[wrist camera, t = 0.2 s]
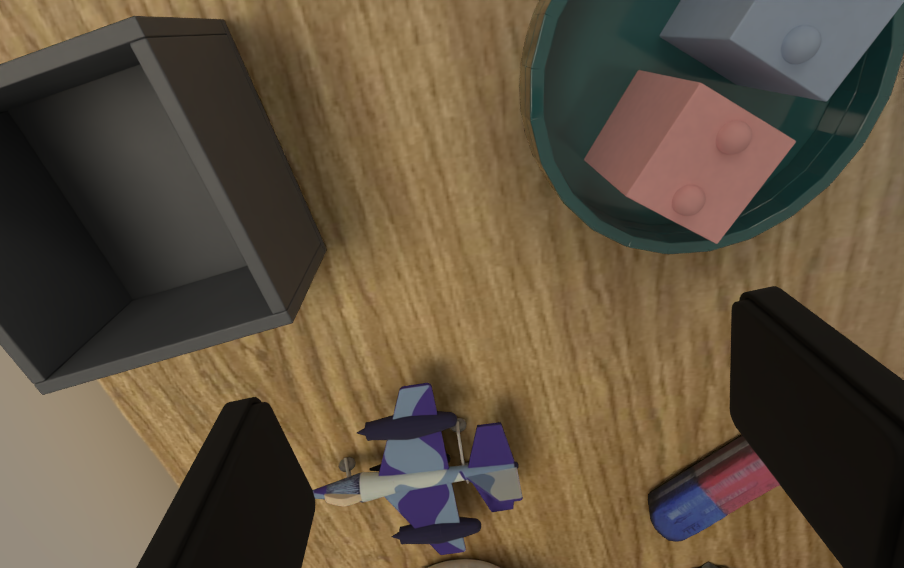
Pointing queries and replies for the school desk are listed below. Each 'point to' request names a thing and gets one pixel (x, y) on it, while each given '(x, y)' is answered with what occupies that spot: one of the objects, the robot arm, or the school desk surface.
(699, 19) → the block
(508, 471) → the toy airplane
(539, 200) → the school desk surface
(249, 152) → the bin
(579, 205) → the bowl
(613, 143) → the pink toy
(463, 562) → the ramekin
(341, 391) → the school desk surface
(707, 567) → the figurines
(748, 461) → the eraser
